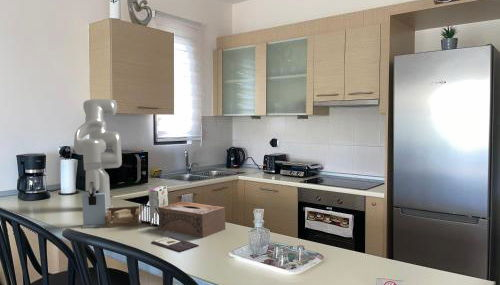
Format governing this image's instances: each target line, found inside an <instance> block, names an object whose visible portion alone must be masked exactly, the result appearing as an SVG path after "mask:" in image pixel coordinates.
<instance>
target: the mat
mask: <svg viewBox="0 0 500 285" xmlns="http://www.w3.org/2000/svg"><path fill="white" fill-rule="evenodd" d="M91 228H105V224H96V225H82V226H81V229H91Z"/></svg>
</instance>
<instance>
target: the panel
mask: <svg viewBox="0 0 500 285" xmlns="http://www.w3.org/2000/svg"><path fill="white" fill-rule="evenodd" d="M88 195H89V193H83V194H81V202H82V205H81V206H82V221H83V222H82V223H83V225H96V224H105V215H106V214H107V212H108V209H107V208H106V193H95V196H96V205H89V199H88ZM83 225H82V226H83Z"/></svg>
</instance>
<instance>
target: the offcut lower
mask: <svg viewBox="0 0 500 285" xmlns="http://www.w3.org/2000/svg"><path fill="white" fill-rule="evenodd" d="M132 221H134V219H133V215H132V214H131V215H130V216H126V217H122V218H116V217H114V216H112V221H111V222H112V223H118V222H132Z"/></svg>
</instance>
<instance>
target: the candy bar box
mask: <svg viewBox="0 0 500 285" xmlns="http://www.w3.org/2000/svg"><path fill="white" fill-rule="evenodd" d="M168 191H169V190H168V186H167V185H166V186H164V185H160V186H157V187H154V188H152V189H150V190H148V204H149V220H150V226H152V223H151V221H152V218H153V216H154V213H155V207H156V208H158V210H159V207H162V206H166V205H169V195H168V194H169V193H168Z"/></svg>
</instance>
